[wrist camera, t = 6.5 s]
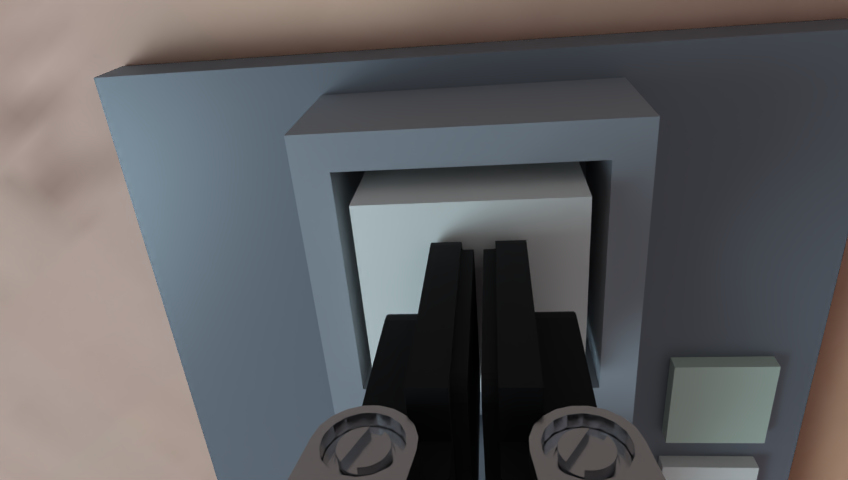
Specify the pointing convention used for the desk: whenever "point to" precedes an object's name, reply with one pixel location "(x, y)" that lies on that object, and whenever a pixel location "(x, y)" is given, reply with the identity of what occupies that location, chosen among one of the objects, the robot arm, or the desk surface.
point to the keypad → (501, 145)
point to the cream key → (471, 232)
